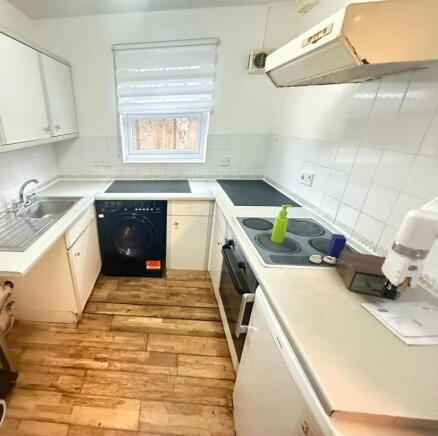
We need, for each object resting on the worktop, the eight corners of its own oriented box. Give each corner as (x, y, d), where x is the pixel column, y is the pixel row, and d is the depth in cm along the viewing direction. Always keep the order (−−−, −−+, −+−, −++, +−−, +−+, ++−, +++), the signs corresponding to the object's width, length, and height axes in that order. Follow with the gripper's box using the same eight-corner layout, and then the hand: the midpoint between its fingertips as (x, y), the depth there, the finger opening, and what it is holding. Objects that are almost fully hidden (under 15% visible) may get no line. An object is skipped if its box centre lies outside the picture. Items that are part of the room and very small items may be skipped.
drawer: (404, 307, 80) (413, 291, 77) (355, 297, 84) (362, 281, 82) (379, 276, 96) (385, 261, 93) (339, 268, 100) (344, 255, 98)
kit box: (335, 255, 112) (343, 234, 107) (339, 261, 108) (346, 239, 103) (325, 254, 113) (332, 233, 109) (328, 259, 109) (335, 238, 105)
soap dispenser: (287, 243, 123) (296, 207, 115) (274, 243, 123) (282, 207, 115) (281, 238, 128) (289, 203, 121) (268, 238, 128) (276, 203, 121)
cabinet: (397, 299, 85) (407, 279, 81) (347, 289, 90) (355, 270, 86) (377, 275, 98) (385, 257, 95) (335, 267, 103) (341, 250, 100)
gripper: (442, 265, 64) (413, 316, 71) (411, 241, 77) (389, 286, 84) (406, 259, 67) (382, 309, 74) (382, 237, 80) (363, 281, 87)
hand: (386, 297), depth 79 cm, fingers closed
